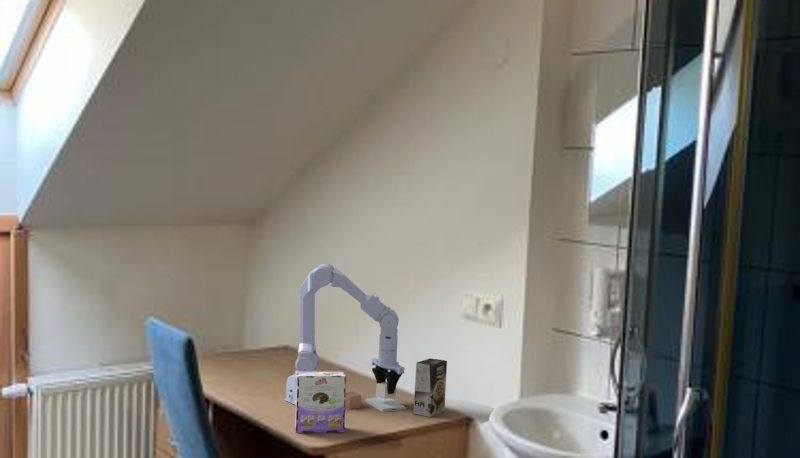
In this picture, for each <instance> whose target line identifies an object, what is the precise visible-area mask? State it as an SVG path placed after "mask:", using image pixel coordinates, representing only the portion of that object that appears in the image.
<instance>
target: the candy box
mask: <svg viewBox="0 0 800 458" xmlns="http://www.w3.org/2000/svg"><path fill="white" fill-rule="evenodd" d="M346 380H347V375H346V373H345V372H344V371H340V370H339V371H323V370H322V371H318V372H304V371H301V372H298V371H297V382H296V405H295V412H294V413H295V415H294V416H295V417H294V433H296V434H307V433H308V434H315V433H316V434H317V433H319V434H320V433H321V434H323V433H328V434H330V433H345V425H346V424H345V420H346V419H345V418H346V416H345V415H346V408H345V393H346V386H347V385H346V383H347V381H346Z"/></svg>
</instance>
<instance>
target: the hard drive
mask: <svg viewBox="0 0 800 458" xmlns="http://www.w3.org/2000/svg"><path fill="white" fill-rule="evenodd" d="M364 401H365V403H367V404H369V405H370V406H372V407H374V408H375V409H377V410H378V411H380V412H382V413H385V412H395V411H396V412H397V411H405V410H407V407H406V406H405V405H403V404H401V403H399V402H398V401H396V400H395V399H393V398H389V399H382V398H380V397H377V396H374V397H369V398H368V397H367V398H365V400H364Z"/></svg>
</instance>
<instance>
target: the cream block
mask: <svg viewBox="0 0 800 458" xmlns="http://www.w3.org/2000/svg"><path fill="white" fill-rule="evenodd" d="M375 397H380V398H382V399H389V398H391V399H393V398H396V397H397V387H396V388H395V392H394V394H388V391H387V381H386V382H383V383H377V382H376V383H375Z"/></svg>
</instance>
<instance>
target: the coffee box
mask: <svg viewBox="0 0 800 458" xmlns="http://www.w3.org/2000/svg"><path fill="white" fill-rule="evenodd" d="M447 368H448V361H447V360H444V359H437V358H432V357H431V358H430V357H429V358H426V359H423V360H421V361H417V362H416V364H415V378H414V379H415V383H414V396H413V397H414V399H413V401H414V402H413V414H414V415H419V416H424V417H427V418H432V417H435V416H436V415H439V414H441V413H443V412H445V407H446V389H447V370H448V369H447Z"/></svg>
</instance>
